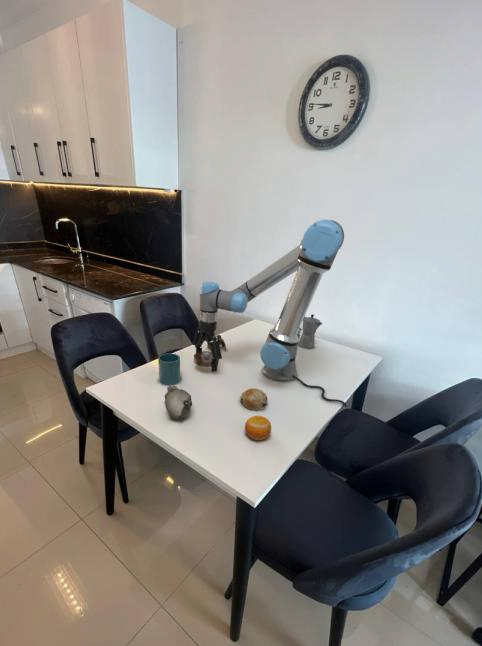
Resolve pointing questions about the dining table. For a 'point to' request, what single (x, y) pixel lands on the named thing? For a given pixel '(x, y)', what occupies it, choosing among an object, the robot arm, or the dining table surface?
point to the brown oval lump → (254, 399)
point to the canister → (169, 369)
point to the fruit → (258, 427)
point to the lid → (203, 358)
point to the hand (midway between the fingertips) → (206, 366)
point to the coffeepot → (309, 331)
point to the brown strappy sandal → (220, 342)
